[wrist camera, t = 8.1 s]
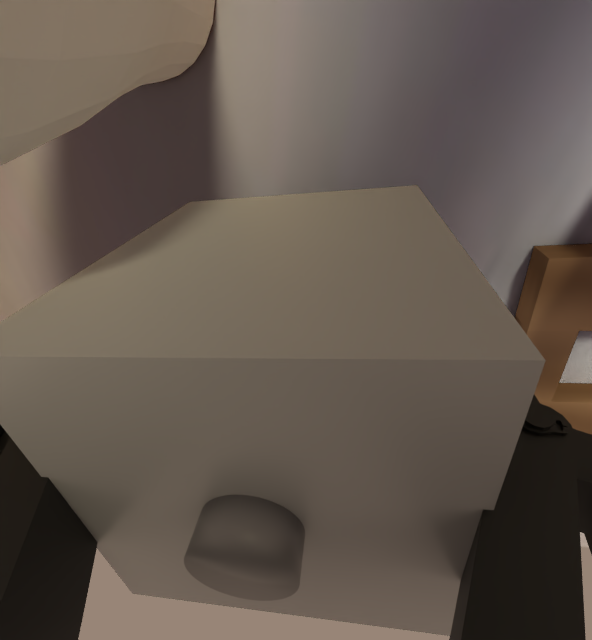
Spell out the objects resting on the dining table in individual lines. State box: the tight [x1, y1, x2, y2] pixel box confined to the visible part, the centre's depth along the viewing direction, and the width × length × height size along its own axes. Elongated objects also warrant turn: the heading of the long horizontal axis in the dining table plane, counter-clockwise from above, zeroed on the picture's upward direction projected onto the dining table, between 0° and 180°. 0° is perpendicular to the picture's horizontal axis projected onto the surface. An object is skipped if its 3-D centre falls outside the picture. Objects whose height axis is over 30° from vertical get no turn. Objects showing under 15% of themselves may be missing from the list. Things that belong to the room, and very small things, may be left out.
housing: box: [0, 185, 546, 636], centre depth 10 cm, size 8×8×10 cm
